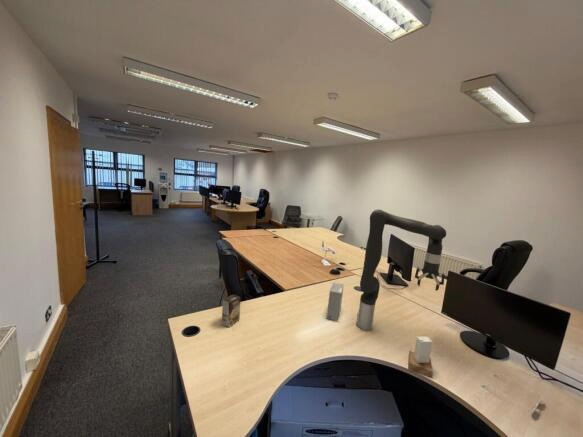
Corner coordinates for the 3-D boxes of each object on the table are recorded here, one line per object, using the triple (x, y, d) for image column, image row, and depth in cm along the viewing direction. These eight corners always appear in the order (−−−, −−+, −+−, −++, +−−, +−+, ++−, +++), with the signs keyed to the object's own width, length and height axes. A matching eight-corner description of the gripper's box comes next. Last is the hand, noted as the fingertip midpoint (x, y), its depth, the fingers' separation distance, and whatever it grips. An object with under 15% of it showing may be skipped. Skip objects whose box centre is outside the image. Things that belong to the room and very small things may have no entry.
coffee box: (229, 328, 140) (229, 303, 137) (221, 324, 143) (222, 299, 140) (240, 320, 148) (240, 297, 145) (232, 317, 151) (233, 293, 148)
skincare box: (423, 356, 123) (427, 335, 121) (429, 363, 119) (433, 341, 117) (412, 357, 122) (416, 335, 121) (418, 363, 118) (421, 341, 116)
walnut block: (407, 369, 119) (409, 362, 118) (408, 357, 128) (409, 350, 127) (430, 378, 115) (432, 371, 114) (429, 364, 123) (430, 358, 123)
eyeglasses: (530, 420, 97) (533, 411, 96) (478, 386, 112) (480, 378, 111) (541, 403, 105) (543, 395, 105) (491, 373, 120) (493, 366, 120)
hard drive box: (337, 322, 154) (341, 293, 151) (326, 319, 156) (329, 291, 153) (340, 310, 169) (344, 283, 165) (330, 307, 171) (333, 281, 167)
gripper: (417, 259, 132) (412, 286, 135) (447, 266, 125) (441, 294, 128) (418, 256, 139) (414, 282, 141) (447, 262, 131) (442, 289, 134)
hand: (427, 287), depth 135 cm, fingers open, 8 cm apart
